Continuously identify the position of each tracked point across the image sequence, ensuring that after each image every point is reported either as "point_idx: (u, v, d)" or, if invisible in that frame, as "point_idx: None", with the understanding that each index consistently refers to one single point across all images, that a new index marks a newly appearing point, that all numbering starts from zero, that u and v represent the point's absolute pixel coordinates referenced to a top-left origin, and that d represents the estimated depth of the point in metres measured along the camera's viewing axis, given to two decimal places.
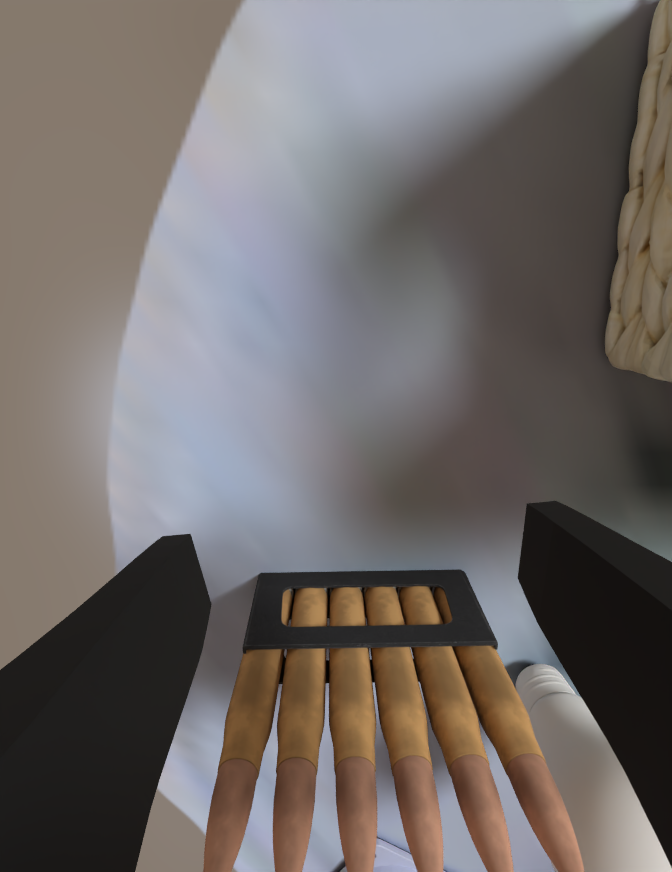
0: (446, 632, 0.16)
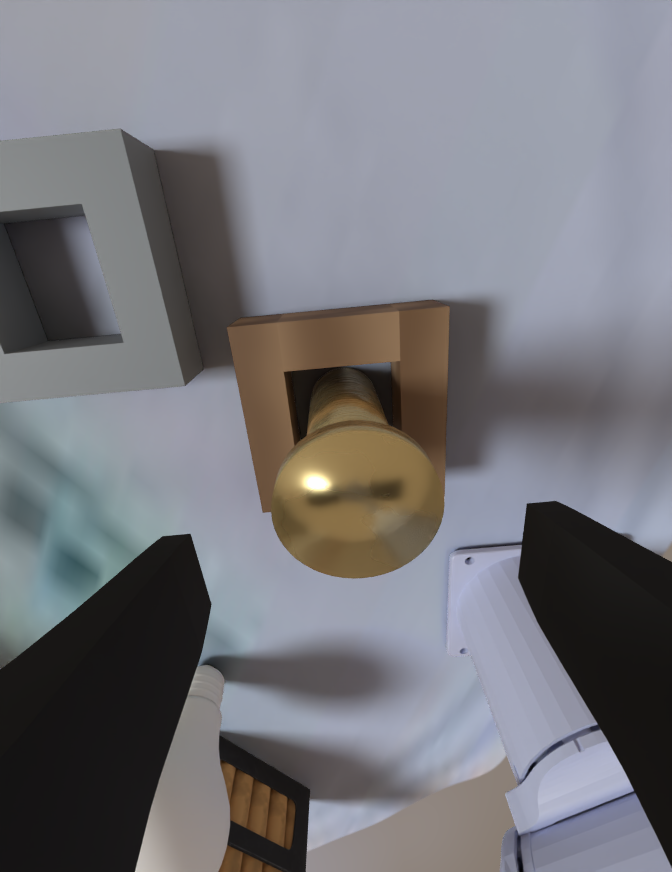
0: None
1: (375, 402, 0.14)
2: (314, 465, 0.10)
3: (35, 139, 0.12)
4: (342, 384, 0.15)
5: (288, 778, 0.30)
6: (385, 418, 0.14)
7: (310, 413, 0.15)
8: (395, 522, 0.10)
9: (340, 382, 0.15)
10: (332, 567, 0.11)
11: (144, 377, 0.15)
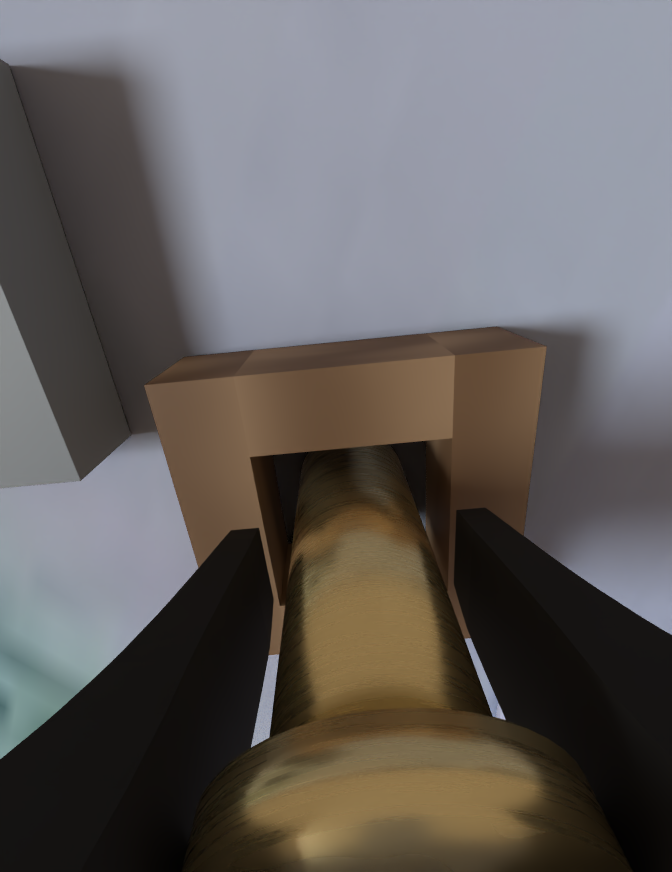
0: None
1: (411, 517, 0.08)
2: None
3: None
4: (350, 476, 0.09)
5: None
6: (431, 554, 0.08)
7: (296, 529, 0.09)
8: None
9: (348, 471, 0.09)
10: None
11: (8, 468, 0.09)
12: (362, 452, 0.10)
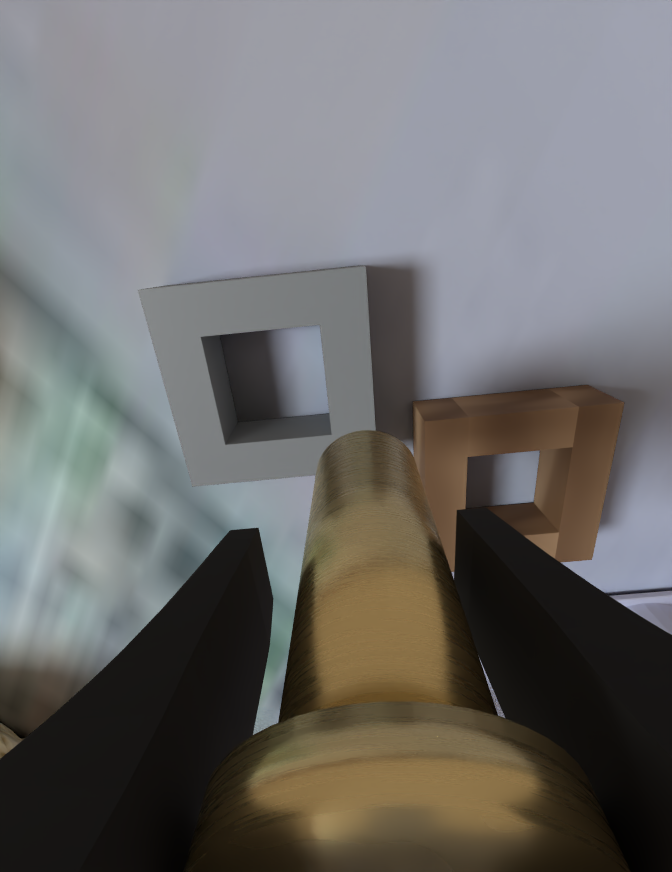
0: None
1: (422, 516, 0.08)
2: (280, 861, 0.03)
3: (288, 274, 0.14)
4: (363, 475, 0.09)
5: None
6: (442, 553, 0.08)
7: (309, 527, 0.09)
8: None
9: (361, 470, 0.09)
10: None
11: None
12: (376, 451, 0.10)
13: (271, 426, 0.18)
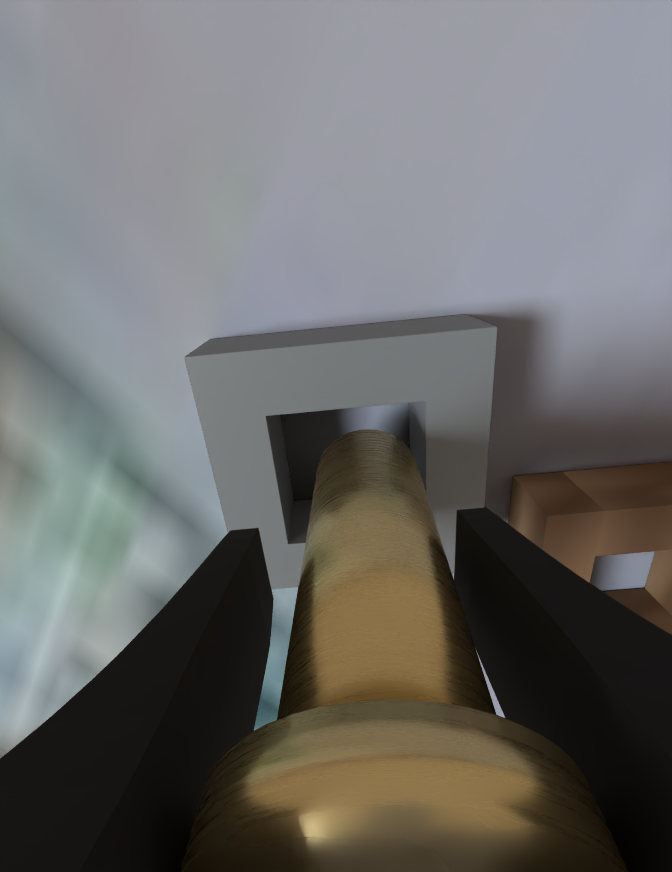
0: None
1: (422, 515, 0.08)
2: (275, 858, 0.03)
3: (390, 335, 0.10)
4: (363, 474, 0.09)
5: None
6: (442, 552, 0.08)
7: (309, 526, 0.09)
8: None
9: (361, 469, 0.09)
10: None
11: None
12: (376, 450, 0.10)
13: None
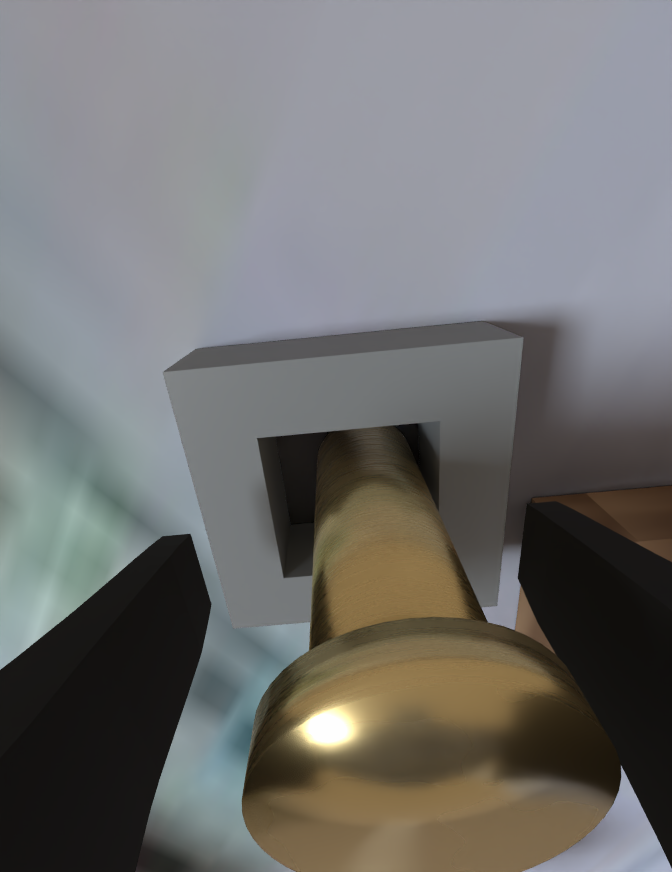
0: None
1: (421, 489, 0.09)
2: (334, 745, 0.04)
3: (400, 347, 0.09)
4: (365, 455, 0.10)
5: None
6: (441, 520, 0.09)
7: (318, 505, 0.10)
8: (508, 819, 0.05)
9: (363, 452, 0.10)
10: None
11: None
12: (374, 435, 0.11)
13: None
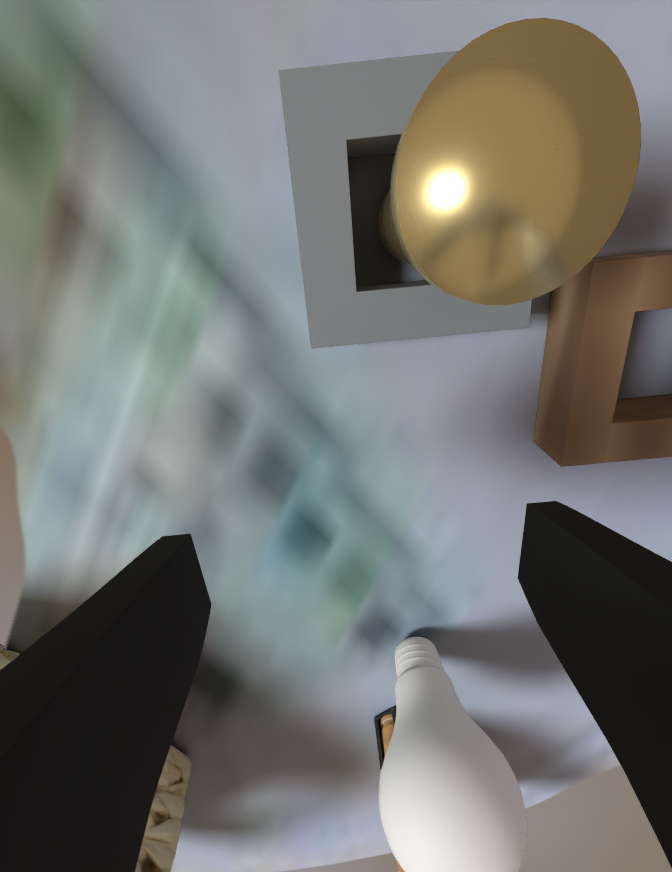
0: None
1: None
2: (465, 88, 0.07)
3: None
4: None
5: None
6: None
7: None
8: (566, 199, 0.07)
9: None
10: (470, 286, 0.08)
11: (490, 317, 0.14)
12: None
13: (397, 284, 0.15)
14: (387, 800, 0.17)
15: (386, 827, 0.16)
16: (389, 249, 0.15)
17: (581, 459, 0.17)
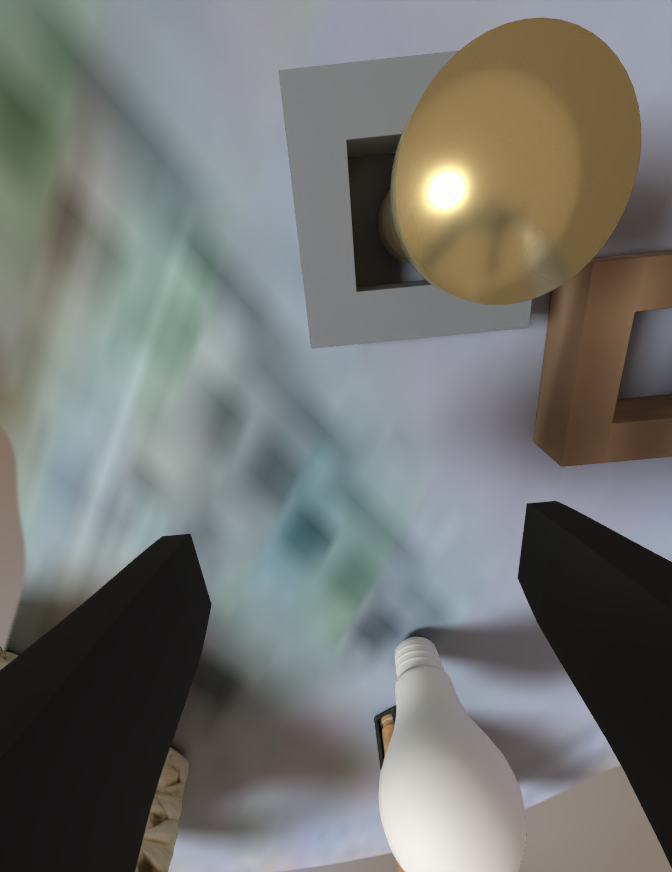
0: None
1: None
2: (465, 88, 0.07)
3: None
4: None
5: None
6: None
7: None
8: (566, 199, 0.07)
9: None
10: (470, 286, 0.08)
11: (490, 317, 0.14)
12: None
13: (397, 284, 0.15)
14: (386, 800, 0.17)
15: (386, 827, 0.16)
16: (389, 249, 0.15)
17: (581, 459, 0.17)
